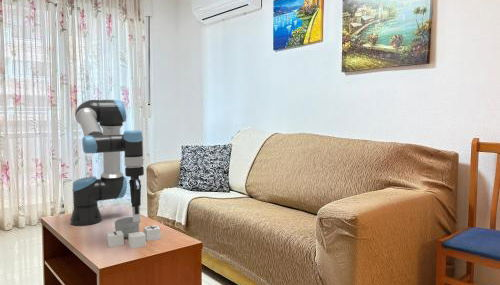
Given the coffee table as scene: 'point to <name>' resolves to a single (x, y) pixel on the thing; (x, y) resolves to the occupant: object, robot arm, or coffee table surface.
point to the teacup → (126, 226)
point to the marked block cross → (152, 233)
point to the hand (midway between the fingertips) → (136, 220)
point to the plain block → (137, 239)
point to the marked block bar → (115, 239)
